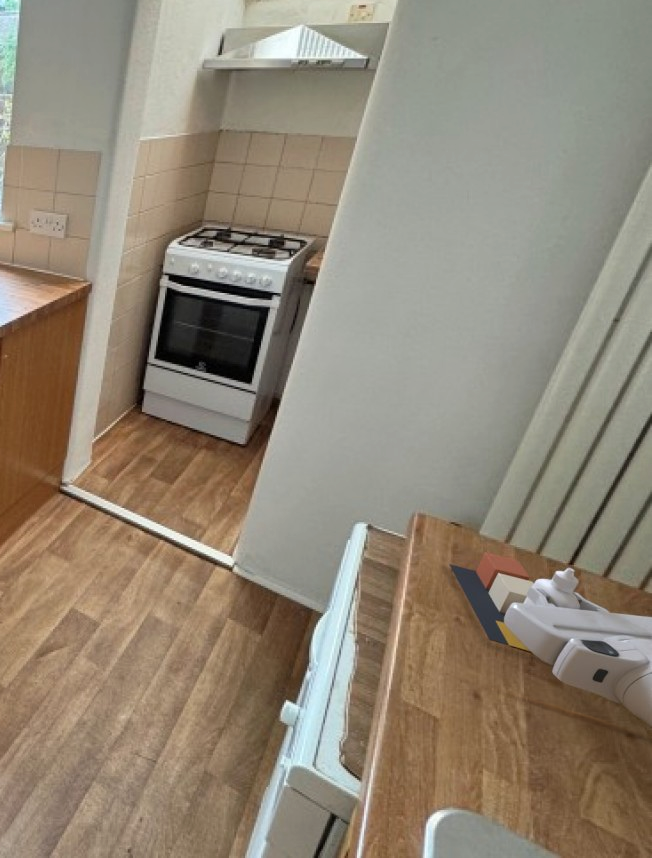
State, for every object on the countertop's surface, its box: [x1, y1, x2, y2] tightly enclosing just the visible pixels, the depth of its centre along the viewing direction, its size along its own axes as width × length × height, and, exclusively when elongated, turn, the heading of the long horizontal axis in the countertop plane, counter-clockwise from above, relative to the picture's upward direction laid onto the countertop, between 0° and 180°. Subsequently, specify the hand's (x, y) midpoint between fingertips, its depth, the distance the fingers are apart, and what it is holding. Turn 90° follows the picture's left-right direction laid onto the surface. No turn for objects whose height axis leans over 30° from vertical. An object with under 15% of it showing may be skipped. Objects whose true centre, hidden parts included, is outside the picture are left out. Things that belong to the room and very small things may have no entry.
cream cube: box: [489, 573, 535, 614], centre depth 100 cm, size 4×4×4 cm
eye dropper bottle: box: [524, 567, 580, 610], centre depth 91 cm, size 4×6×12 cm
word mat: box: [448, 564, 532, 653], centre depth 100 cm, size 12×18×1 cm, turn 155°
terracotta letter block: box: [475, 551, 531, 590], centre depth 104 cm, size 4×4×4 cm
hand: (550, 593), depth 92 cm, fingers closed on eye dropper bottle, 3 cm apart
